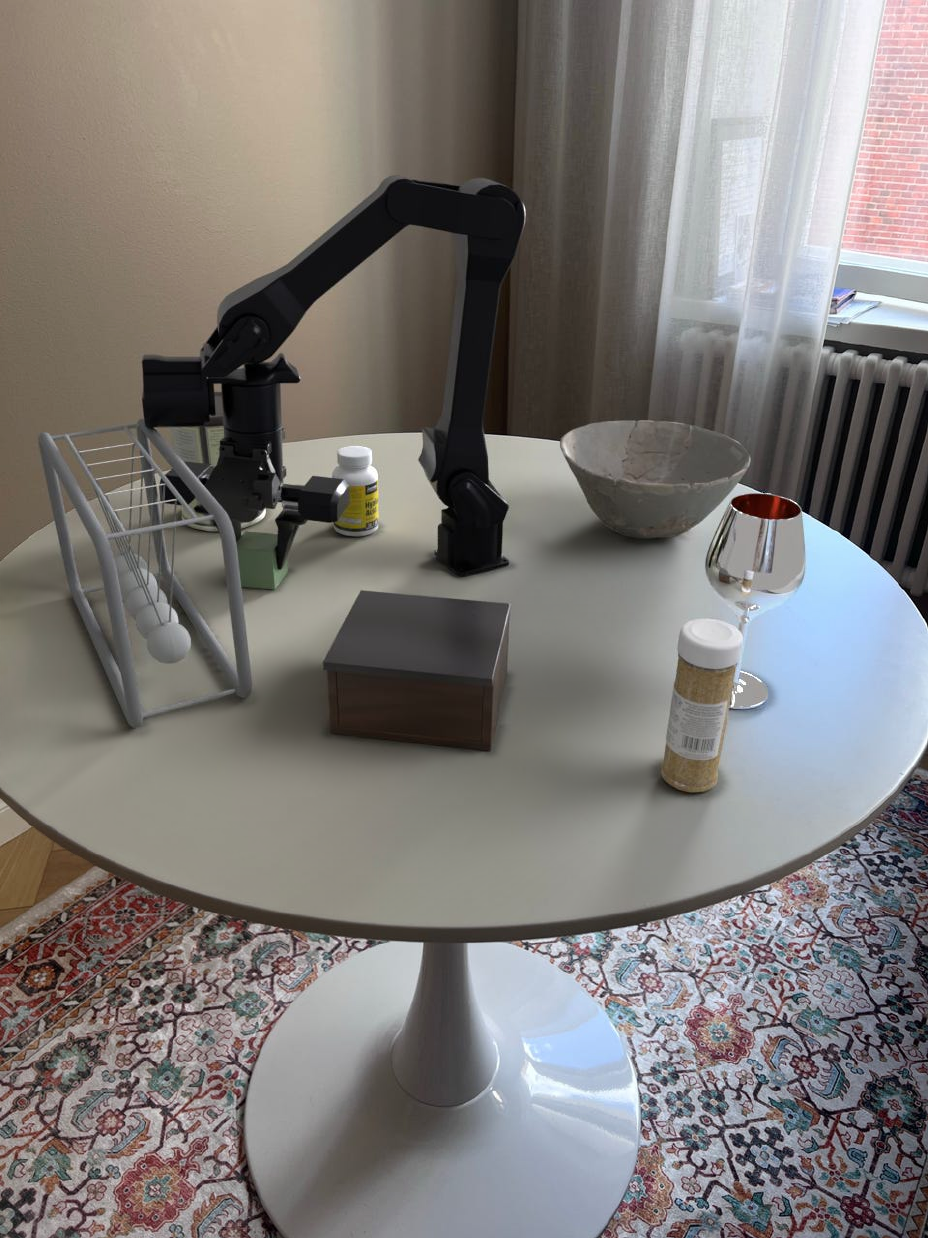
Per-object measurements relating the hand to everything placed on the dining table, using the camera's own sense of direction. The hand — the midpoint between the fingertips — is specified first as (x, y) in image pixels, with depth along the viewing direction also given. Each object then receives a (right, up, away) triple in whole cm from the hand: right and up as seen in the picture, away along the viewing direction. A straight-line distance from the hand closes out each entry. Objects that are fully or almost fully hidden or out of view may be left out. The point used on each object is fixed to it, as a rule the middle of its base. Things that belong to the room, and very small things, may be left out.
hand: (258, 565), depth 106 cm
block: (0, -1, +1) cm, 2 cm away
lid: (+18, -7, -23) cm, 30 cm away
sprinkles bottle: (+40, -19, -27) cm, 52 cm away
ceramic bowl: (+44, +6, +16) cm, 47 cm away
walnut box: (+18, -13, -19) cm, 30 cm away
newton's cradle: (-8, -8, -11) cm, 16 cm away
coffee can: (-8, +7, +16) cm, 19 cm away
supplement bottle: (+9, +5, +13) cm, 17 cm away
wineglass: (+46, -12, -16) cm, 51 cm away
